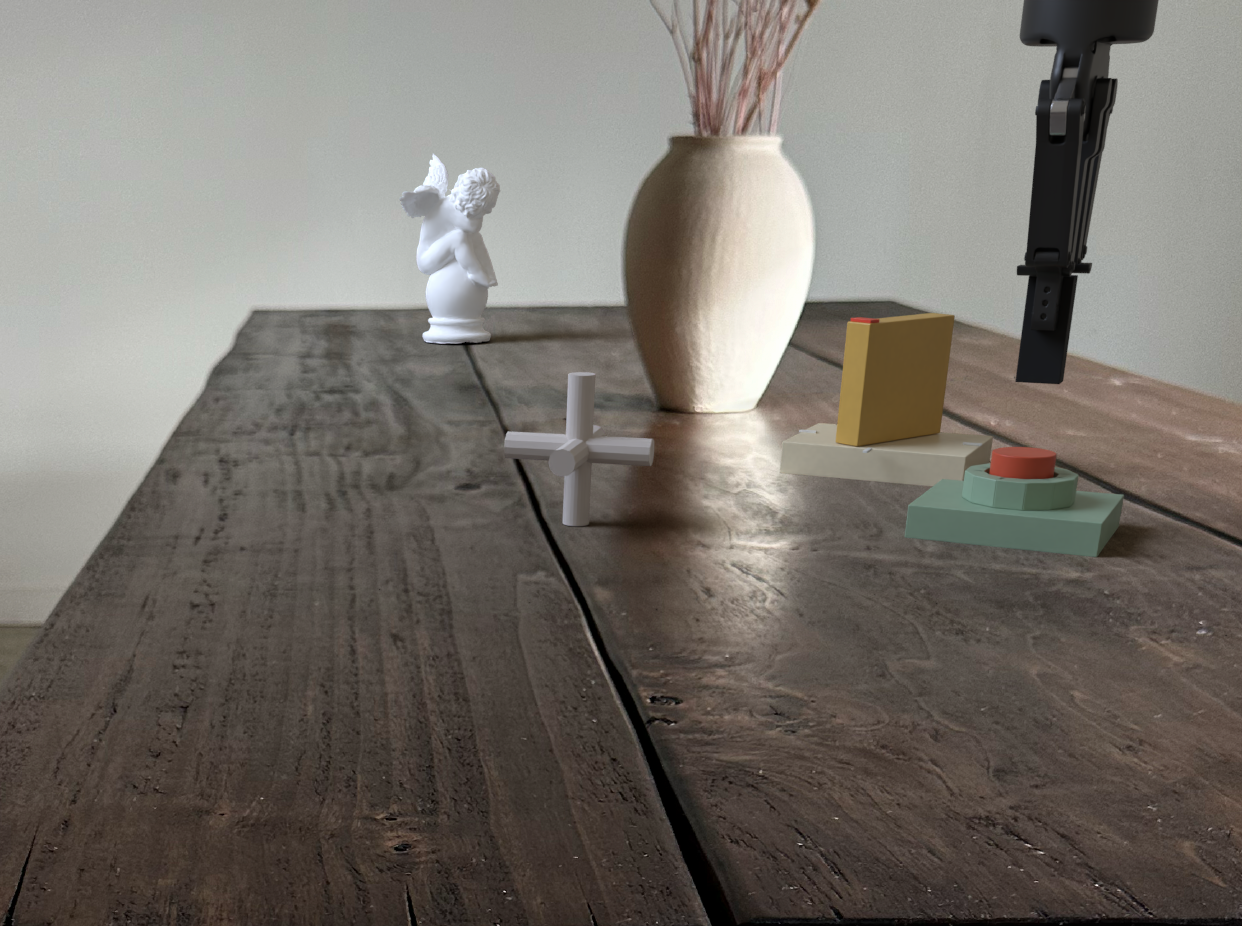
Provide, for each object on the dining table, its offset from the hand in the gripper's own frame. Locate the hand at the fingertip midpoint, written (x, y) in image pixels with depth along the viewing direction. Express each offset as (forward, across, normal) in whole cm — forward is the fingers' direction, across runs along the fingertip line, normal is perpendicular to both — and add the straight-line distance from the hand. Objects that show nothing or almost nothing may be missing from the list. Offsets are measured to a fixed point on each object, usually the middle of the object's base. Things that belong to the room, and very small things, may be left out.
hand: (1039, 381), depth 109 cm
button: (+6, 0, 0) cm, 6 cm away
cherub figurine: (+10, -79, -84) cm, 116 cm away
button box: (+10, 0, 0) cm, 10 cm away
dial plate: (+10, -18, -13) cm, 24 cm away
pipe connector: (+10, +11, -27) cm, 31 cm away
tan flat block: (+7, -18, -13) cm, 23 cm away
